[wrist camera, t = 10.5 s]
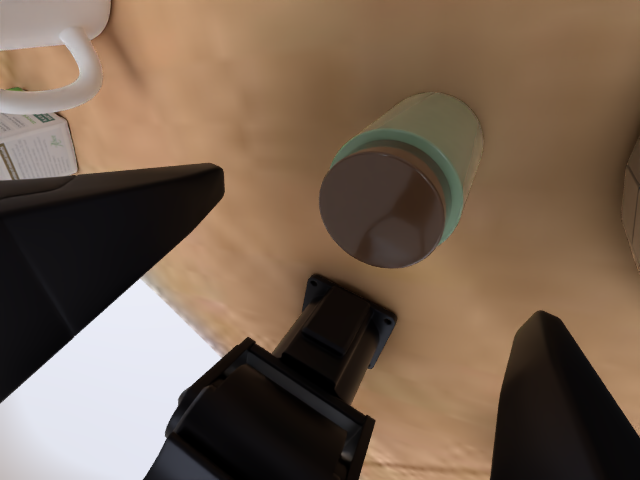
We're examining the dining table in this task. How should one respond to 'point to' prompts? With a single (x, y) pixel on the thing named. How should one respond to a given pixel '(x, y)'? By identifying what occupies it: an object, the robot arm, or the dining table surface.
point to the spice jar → (403, 181)
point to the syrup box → (35, 146)
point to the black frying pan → (632, 203)
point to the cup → (50, 30)
